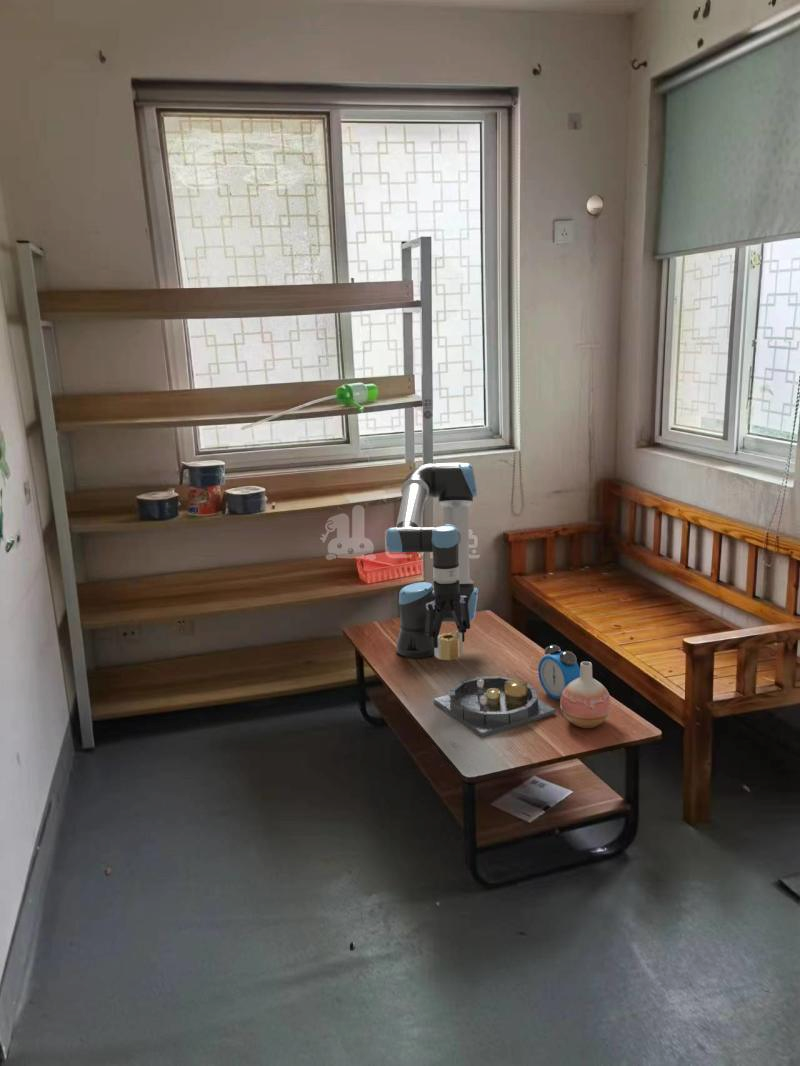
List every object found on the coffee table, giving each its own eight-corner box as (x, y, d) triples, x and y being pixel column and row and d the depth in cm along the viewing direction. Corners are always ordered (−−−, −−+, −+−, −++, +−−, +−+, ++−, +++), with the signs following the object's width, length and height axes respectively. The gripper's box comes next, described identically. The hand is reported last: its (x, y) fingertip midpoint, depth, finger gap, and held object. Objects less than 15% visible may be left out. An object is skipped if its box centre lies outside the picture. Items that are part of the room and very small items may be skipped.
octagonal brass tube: (433, 654, 238) (433, 635, 236) (452, 650, 241) (452, 631, 239) (444, 661, 232) (443, 642, 231) (463, 657, 235) (463, 637, 234)
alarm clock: (537, 690, 241) (537, 644, 237) (553, 685, 244) (553, 639, 240) (566, 706, 230) (567, 658, 226) (583, 701, 232) (583, 653, 229)
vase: (579, 739, 211) (580, 677, 207) (550, 718, 223) (550, 659, 219) (621, 727, 216) (623, 667, 212) (590, 707, 228) (591, 650, 224)
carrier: (434, 703, 236) (433, 679, 234) (503, 683, 247) (503, 660, 245) (481, 737, 214) (481, 712, 212) (555, 714, 225) (555, 689, 224)
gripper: (422, 588, 224) (425, 665, 229) (481, 577, 232) (483, 652, 237) (410, 582, 230) (413, 657, 235) (468, 571, 239) (470, 644, 244)
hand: (448, 654), depth 236 cm, fingers closed on octagonal brass tube, 6 cm apart
